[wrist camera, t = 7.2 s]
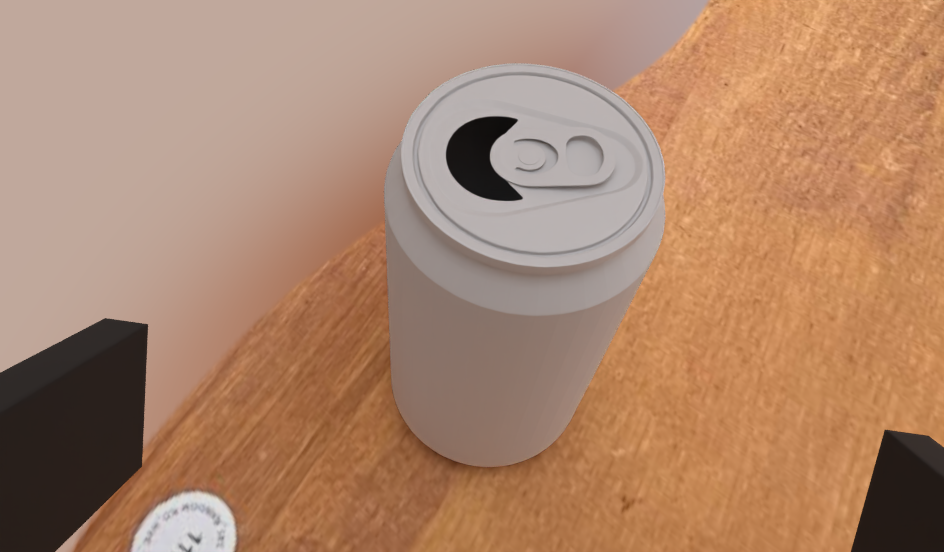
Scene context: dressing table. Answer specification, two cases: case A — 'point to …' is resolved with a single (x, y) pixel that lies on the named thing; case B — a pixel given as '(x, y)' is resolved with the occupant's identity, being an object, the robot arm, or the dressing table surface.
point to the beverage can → (513, 254)
